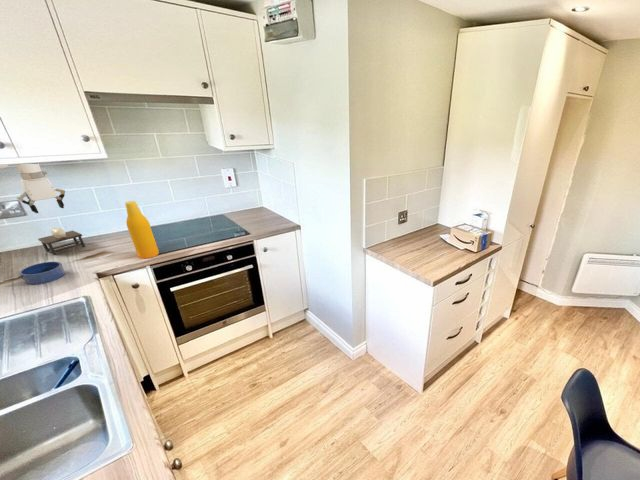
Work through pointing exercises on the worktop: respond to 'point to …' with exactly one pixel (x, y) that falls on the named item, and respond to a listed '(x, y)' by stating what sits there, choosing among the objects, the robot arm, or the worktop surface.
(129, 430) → the worktop surface
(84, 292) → the worktop surface
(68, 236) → the stand
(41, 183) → the robot arm
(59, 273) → the bowl
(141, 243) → the beer bottle
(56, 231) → the potato
